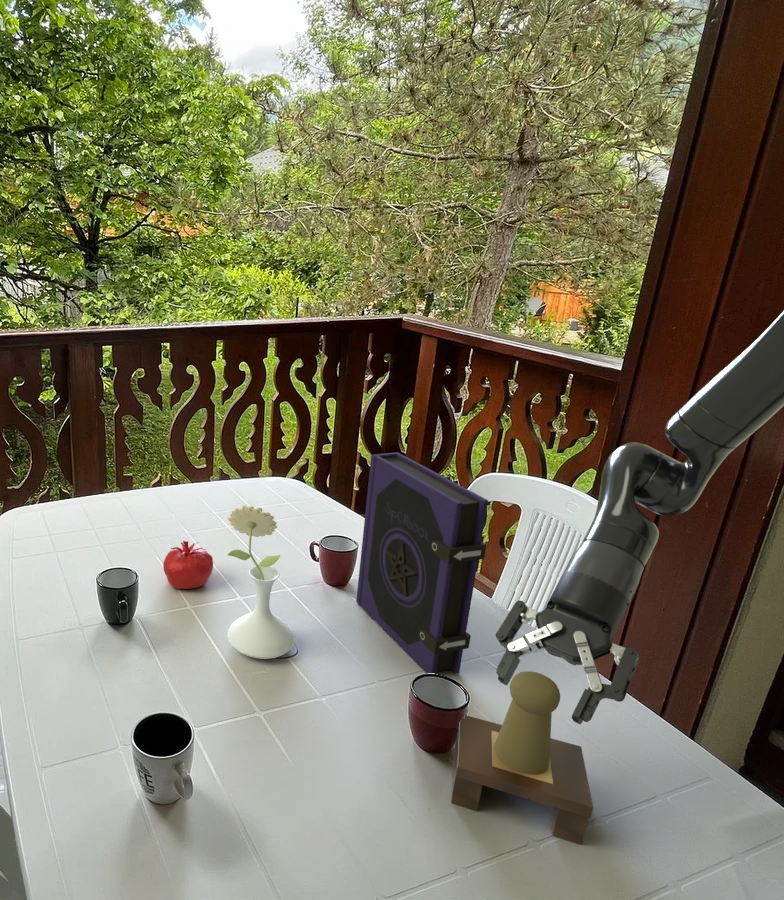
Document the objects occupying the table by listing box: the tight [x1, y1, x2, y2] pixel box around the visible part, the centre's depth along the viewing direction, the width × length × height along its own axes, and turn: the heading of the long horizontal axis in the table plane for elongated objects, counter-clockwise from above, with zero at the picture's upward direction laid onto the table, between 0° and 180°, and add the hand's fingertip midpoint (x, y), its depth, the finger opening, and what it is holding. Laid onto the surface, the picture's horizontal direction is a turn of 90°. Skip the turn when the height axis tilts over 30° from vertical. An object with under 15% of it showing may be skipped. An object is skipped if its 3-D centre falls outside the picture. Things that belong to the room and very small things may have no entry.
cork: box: [494, 670, 561, 775], centre depth 76 cm, size 6×6×11 cm
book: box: [355, 452, 489, 675], centre depth 107 cm, size 24×6×30 cm, turn 15°
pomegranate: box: [162, 539, 214, 590], centre depth 127 cm, size 10×10×9 cm
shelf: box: [450, 714, 594, 846], centre depth 78 cm, size 14×10×6 cm
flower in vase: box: [226, 505, 296, 660], centre depth 105 cm, size 13×11×25 cm
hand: (537, 701), depth 76 cm, fingers open, 8 cm apart
